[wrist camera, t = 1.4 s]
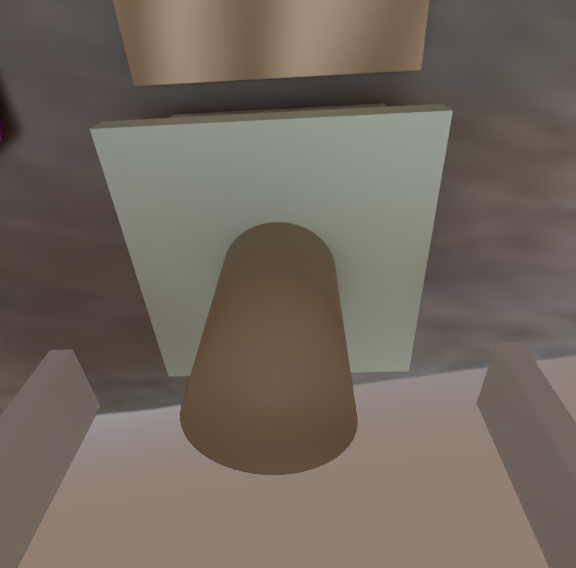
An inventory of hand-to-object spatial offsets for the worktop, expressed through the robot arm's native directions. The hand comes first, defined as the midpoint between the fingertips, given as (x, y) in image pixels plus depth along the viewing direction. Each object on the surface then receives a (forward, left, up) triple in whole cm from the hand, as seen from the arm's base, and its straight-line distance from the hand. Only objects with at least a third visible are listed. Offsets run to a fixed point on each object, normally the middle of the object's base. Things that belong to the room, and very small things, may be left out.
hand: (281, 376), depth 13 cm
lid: (0, 0, -7) cm, 7 cm away
